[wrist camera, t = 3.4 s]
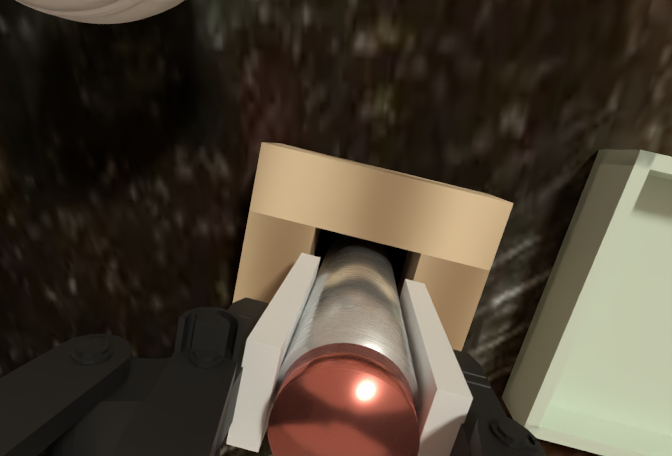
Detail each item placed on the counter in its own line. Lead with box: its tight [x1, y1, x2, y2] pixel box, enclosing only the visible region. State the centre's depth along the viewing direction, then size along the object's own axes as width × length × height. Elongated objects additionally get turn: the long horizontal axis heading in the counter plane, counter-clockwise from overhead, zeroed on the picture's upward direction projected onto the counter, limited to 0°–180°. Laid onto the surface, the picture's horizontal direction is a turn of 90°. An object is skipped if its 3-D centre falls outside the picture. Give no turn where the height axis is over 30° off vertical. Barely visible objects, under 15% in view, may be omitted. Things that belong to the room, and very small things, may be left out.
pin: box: [268, 235, 420, 456], centre depth 13 cm, size 3×3×11 cm
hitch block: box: [232, 142, 513, 351], centre depth 17 cm, size 10×10×3 cm
